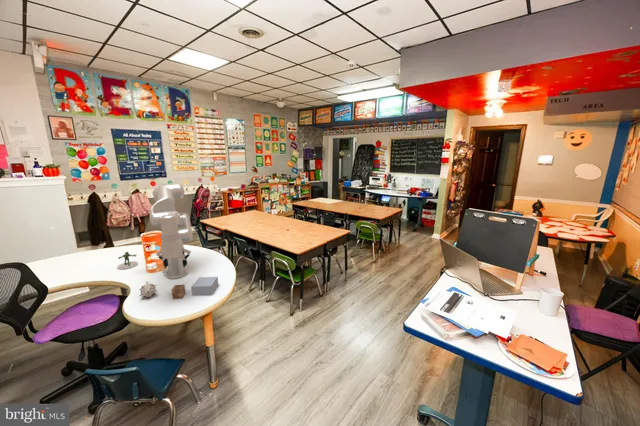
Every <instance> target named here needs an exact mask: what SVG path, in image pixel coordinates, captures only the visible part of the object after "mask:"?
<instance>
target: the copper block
mask: <svg viewBox="0 0 640 426" xmlns="http://www.w3.org/2000/svg"><path fill="white" fill-rule="evenodd" d="M170 291H171V296H172V300H180V299H183V298H184V296H185V295H186V292H187V291H186V287H185V284H174V286H173V287H172V288H171V289H170Z"/></svg>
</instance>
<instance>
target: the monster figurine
mask: <svg viewBox="0 0 640 426" xmlns="http://www.w3.org/2000/svg"><path fill="white" fill-rule="evenodd" d="M130 257H137V254H130V253H129V251H126V252H125V253H124V254H123V255H122V256H119V257H117V259H118V260H120V259H123V258H124V262H123V263H121V264H119V265H118V266H117V267H116V268H117V270H119V271H120V270H121V271H125V270H129V269H133V268H136V267H137V266H138V265H139V262H138V261H134V260H133V261H130Z"/></svg>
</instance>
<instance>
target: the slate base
mask: <svg viewBox="0 0 640 426" xmlns="http://www.w3.org/2000/svg"><path fill="white" fill-rule="evenodd" d="M218 287H219V277H218V276H199V277H198V278H197V279H196V280H195V282H194V283H193V284H192V285H191V293H192V295H191V296H192V297H193V296H195V297H196V296H213V294H214V293H215V291H216V290H217V288H218Z"/></svg>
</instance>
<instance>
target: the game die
mask: <svg viewBox="0 0 640 426" xmlns="http://www.w3.org/2000/svg"><path fill="white" fill-rule="evenodd" d="M156 286H157V284H153V283H149V282H148V281H146V283H145V284H144V285H141V288H139V289H138V290H140V295H139V297H141V296H142V297H146V298H148V299H150V298H151V297H152V296H153V294H154V295H155V293H156V292H157V289H156V288H157V287H156Z"/></svg>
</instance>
